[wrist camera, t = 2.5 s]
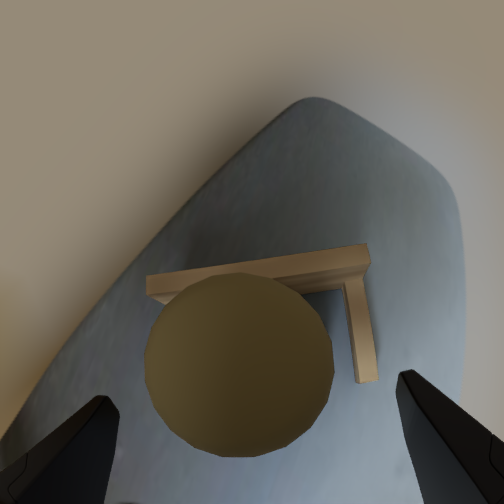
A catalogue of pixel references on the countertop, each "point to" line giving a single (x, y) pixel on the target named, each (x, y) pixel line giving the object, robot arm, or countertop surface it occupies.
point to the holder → (301, 289)
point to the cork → (238, 365)
